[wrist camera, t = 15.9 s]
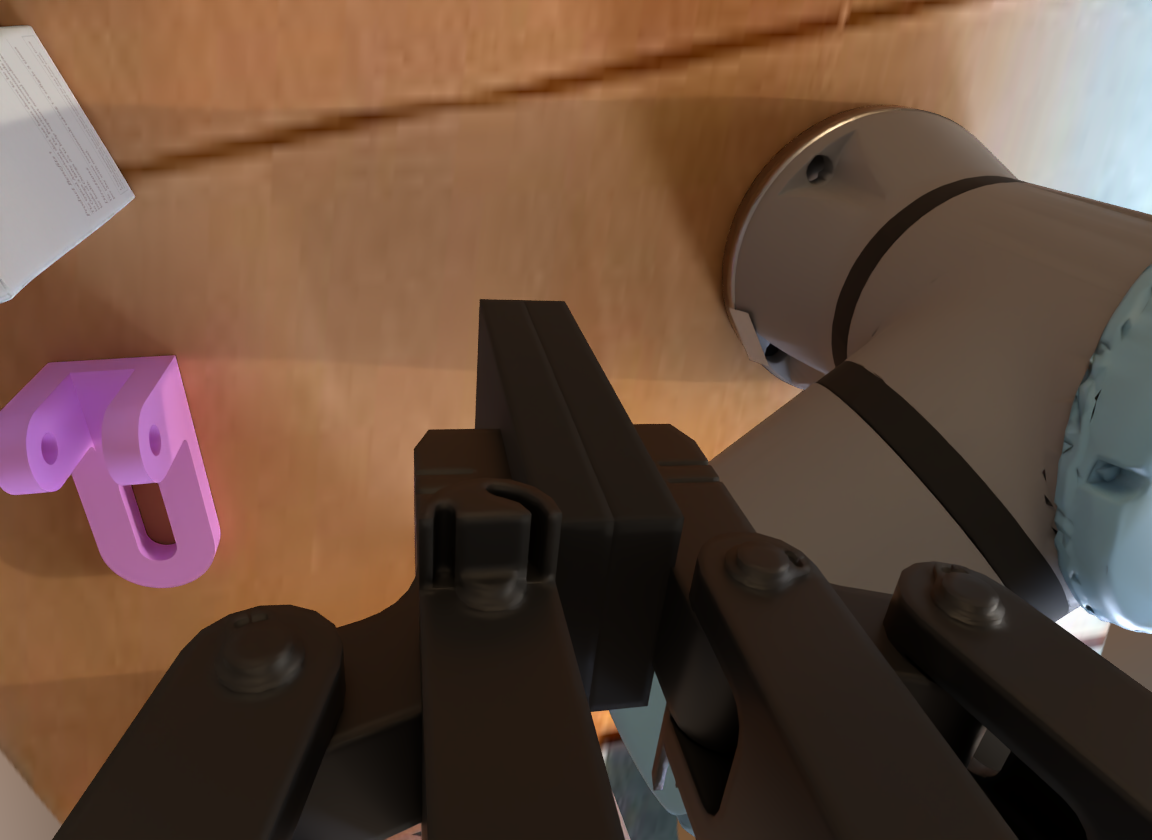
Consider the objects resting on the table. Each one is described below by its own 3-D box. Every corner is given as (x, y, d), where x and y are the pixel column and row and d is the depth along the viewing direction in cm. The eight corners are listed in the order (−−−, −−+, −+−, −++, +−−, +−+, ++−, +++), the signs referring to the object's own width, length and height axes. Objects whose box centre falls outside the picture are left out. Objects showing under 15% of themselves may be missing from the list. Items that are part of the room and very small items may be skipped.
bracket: (48, 362, 35) (-24, 434, 30) (175, 355, 36) (130, 423, 31) (122, 576, 42) (76, 672, 36) (229, 565, 43) (201, 656, 37)
